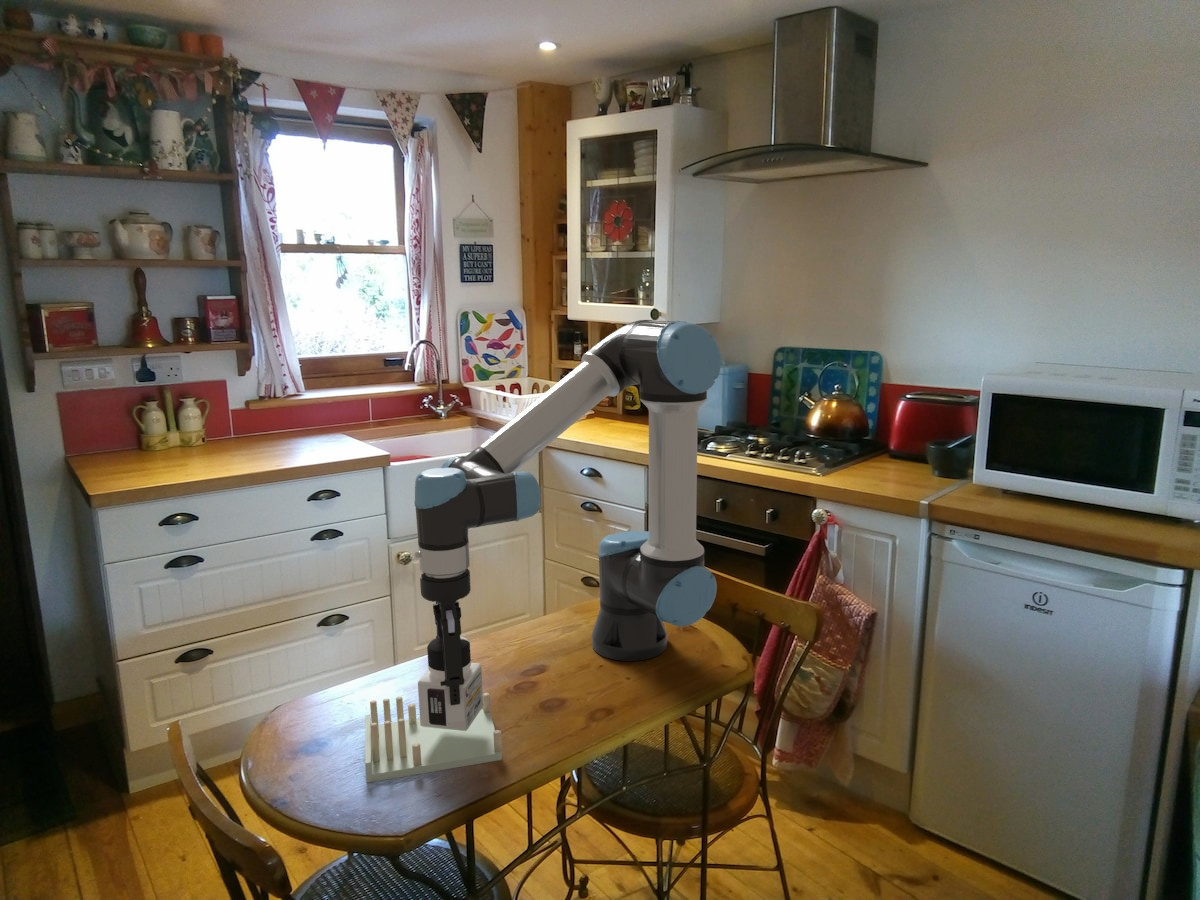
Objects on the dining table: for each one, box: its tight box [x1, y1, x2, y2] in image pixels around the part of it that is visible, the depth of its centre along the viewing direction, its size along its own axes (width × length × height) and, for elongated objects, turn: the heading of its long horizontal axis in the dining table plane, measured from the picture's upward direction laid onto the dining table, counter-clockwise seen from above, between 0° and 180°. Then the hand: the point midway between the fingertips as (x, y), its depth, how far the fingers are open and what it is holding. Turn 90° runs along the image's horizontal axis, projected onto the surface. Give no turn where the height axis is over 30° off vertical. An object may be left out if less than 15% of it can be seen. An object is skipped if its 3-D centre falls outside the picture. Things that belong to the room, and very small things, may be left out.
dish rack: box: [364, 692, 503, 784], centre depth 129 cm, size 20×14×7 cm
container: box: [417, 635, 484, 731], centre depth 128 cm, size 8×8×13 cm
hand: (451, 703), depth 129 cm, fingers closed on container, 10 cm apart
